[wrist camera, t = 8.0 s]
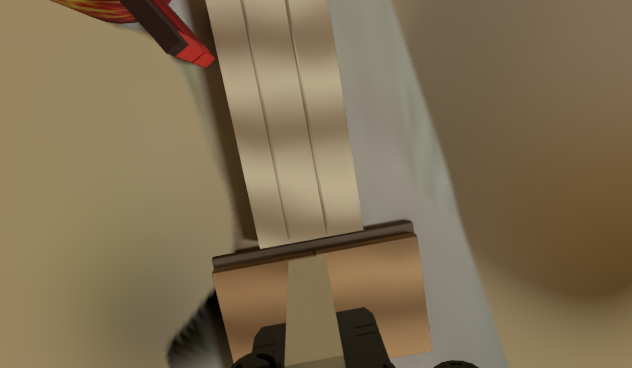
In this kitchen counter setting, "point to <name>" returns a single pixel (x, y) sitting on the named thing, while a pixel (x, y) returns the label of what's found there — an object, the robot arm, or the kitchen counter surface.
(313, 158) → the plank
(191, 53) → the mug
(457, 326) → the kitchen counter surface
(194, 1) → the kitchen counter surface
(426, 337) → the floorboard
